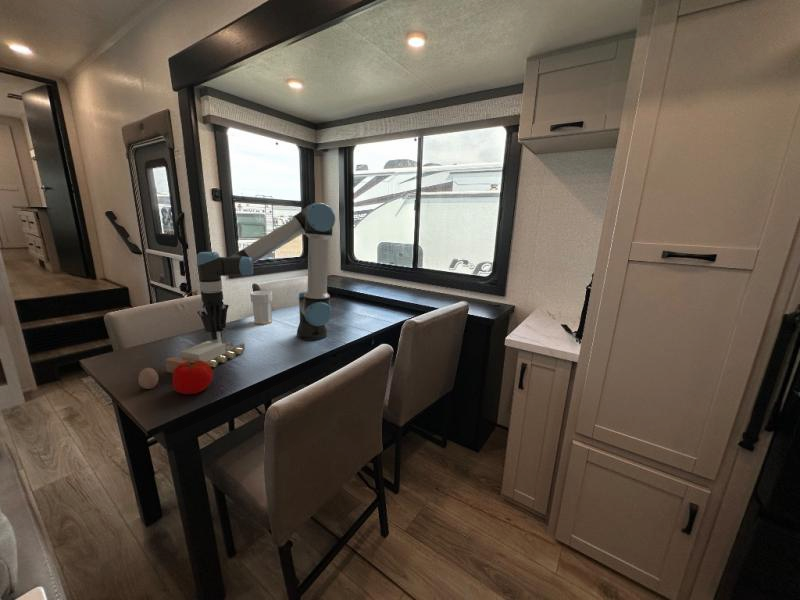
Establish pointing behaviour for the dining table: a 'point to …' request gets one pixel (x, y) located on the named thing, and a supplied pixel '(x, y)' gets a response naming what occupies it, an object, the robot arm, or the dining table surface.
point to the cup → (262, 307)
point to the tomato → (192, 377)
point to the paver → (204, 351)
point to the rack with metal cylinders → (230, 353)
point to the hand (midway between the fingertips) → (218, 346)
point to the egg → (148, 378)
